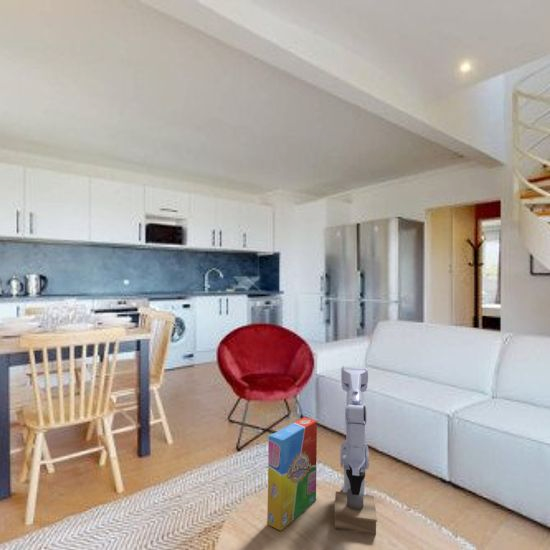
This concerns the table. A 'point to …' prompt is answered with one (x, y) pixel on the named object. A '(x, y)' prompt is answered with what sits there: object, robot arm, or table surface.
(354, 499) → the grey short cylinder
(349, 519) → the box
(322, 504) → the table surface
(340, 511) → the lid
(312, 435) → the game box
